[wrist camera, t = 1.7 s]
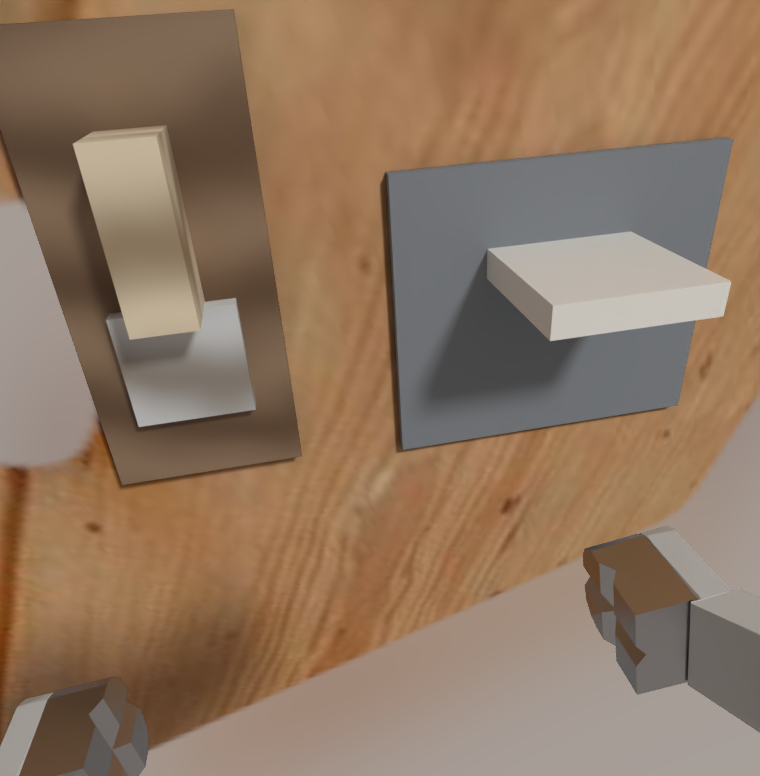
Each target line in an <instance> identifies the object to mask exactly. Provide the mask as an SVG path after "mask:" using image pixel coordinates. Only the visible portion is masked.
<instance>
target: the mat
mask: <svg viewBox="0 0 760 776" xmlns="http://www.w3.org/2000/svg"><path fill="white" fill-rule="evenodd" d="M732 143H733V139H731V138H726V137H724V138H715V139H705V140H695V141H685V142H676V143H666V144H656V145H646V146H636V147H627V148H617V149H607V150H597V151H587V152H578V153H568V154H558V155H548V156H538V157H529V158H519V159H509V160H499V161H489V162H480V163H470V164H460V165H450V166H440V167H431V168H421V169H411V170H401V171H391V172H386V184H387V202H388V220H389V238H390V256H391V275H392V293H393V311H394V329H395V347H396V365H397V384H398V402H399V420H400V438H401V446H402V449H403V450H406V449H412V448H418V447H424V446H431V445H437V444H443V443H449V442H455V441H461V440H468V439H474V438H480V437H486V436H492V435H498V434H504V433H511V432H517V431H523V430H529V429H535V428H541V427H548V426H554V425H560V424H566V423H572V422H578V421H585V420H591V419H597V418H603V417H609V416H615V415H622V414H628V413H634V412H640V411H646V410H652V409H659V408H665V407H671V406H677V405H678V402H679V397H680V392H681V387H682V382H683V378H684V373H685V368H686V363H687V359H688V354H689V349H690V344H691V339H692V335H693V330H694V325H695V320H694V321H687V322H680V323H673V324H666V325H659V326H652V327H645V328H638V329H631V330H625V331H618V332H611V333H604V334H597V335H590V336H583V337H576V338H569V339H562V340H555V341H549V340H548V339H547V338H546V337H545V336H544V335H543V334H542V333H541V332H540V331H539V330H538V329H537V328H536V327H535V326H534V325H533V324H532V323H531V322H530V321H529V320H528V319H527V318H526V317H525V316H524V315H523V314H522V313H521V312H520V311H519V310H518V309H517V308H516V307H515V306H514V305H513V304H512V303H511V302H510V301H509V300H508V299H507V298H506V297H505V296H504V295H503V294H502V293H501V292H500V291H499V290H498V289H497V288H496V287H495V286H494V285H493V284H492V283H491V282H490V281H489V280H488V279H487V249H490V248H498V247H507V246H515V245H523V244H531V243H540V242H548V241H556V240H564V239H573V238H581V237H589V236H597V235H606V234H614V233H622V232H630V231H631V232H633V233H635V234H637V235H639V236H641V237H643V238H645V239H647V240H649V241H651V242H653V243H655V244H657V245H659V246H661V247H663V248H665V249H667V250H669V251H671V252H673V253H675V254H677V255H679V256H681V257H683V258H685V259H687V260H689V261H691V262H693V263H695V264H697V265H699V266H701V267H703V268H705V269H706V268H707V263H708V258H709V253H710V248H711V244H712V239H713V234H714V229H715V224H716V220H717V215H718V210H719V205H720V201H721V196H722V191H723V186H724V181H725V177H726V172H727V167H728V162H729V157H730V153H731V148H732Z"/></svg>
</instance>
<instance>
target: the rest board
mask: <svg viewBox="0 0 760 776" xmlns="http://www.w3.org/2000/svg"><path fill="white" fill-rule="evenodd" d="M164 125H167V130H168V134H169V139H170V143H171V148H172V153H173V157H174V162H175V166H176V171H177V176H178V180H179V185H180V190H181V194H182V199H183V203H184V208H185V213H186V217H187V222H188V226H189V231H190V236H191V240H192V245H193V249H194V254H195V259H196V263H197V268H198V272H199V277H200V282H201V286H202V291H203V295H204V300H205V302H207V301H215V300H223V299H231V298H236V301H237V306H238V311H239V316H240V322H241V327H242V332H243V338H244V343H245V348H246V353H247V359H248V364H249V369H250V374H251V380H252V385H253V390H254V396H255V401H256V410H251V411H244V412H237V413H230V414H224V415H217V416H210V417H204V418H197V419H190V420H183V421H177V422H170V423H163V424H157V425H150V426H143V427H139V426H138V423H137V420H136V417H135V413H134V410H133V407H132V404H131V400H130V397H129V394H128V391H127V387H126V384H125V381H124V378H123V374H122V371H121V368H120V364H119V361H118V358H117V355H116V351H115V348H114V345H113V342H112V338H111V335H110V332H109V329H108V325H107V322H106V319H107V317H108V315H109V314H111V313H119V312H122V311H121V308H120V305H119V301H118V298H117V294H116V291H115V287H114V284H113V281H112V277H111V274H110V270H109V267H108V263H107V260H106V257H105V253H104V250H103V246H102V243H101V239H100V236H99V233H98V229H97V226H96V222H95V219H94V215H93V212H92V208H91V205H90V202H89V198H88V195H87V191H86V188H85V184H84V181H83V178H82V174H81V171H80V167H79V164H78V160H77V157H76V154H75V150H74V147H73V143H75V142H77V141H78V140H80V139H82V138H83V137H85V136H87V135H88V134H90V133H92V132H96V131H107V130H118V129H130V128H141V127H152V126H164ZM0 130H1V133H2V136H3V139H4V142H5V144H6V147H7V150H8V153H9V156H10V159H11V162H12V165H13V168H14V171H15V174H16V177H17V179H18V182H19V185H20V188H21V191H22V194H23V197H24V200H25V203H26V206H27V209H28V212H29V214H30V217H31V220H32V223H33V226H34V229H35V232H36V235H37V238H38V241H39V244H40V246H41V249H42V252H43V255H44V258H45V261H46V264H47V267H48V270H49V273H50V276H51V279H52V281H53V284H54V287H55V290H56V293H57V296H58V299H59V302H60V305H61V308H62V311H63V314H64V316H65V320H66V322H67V325H68V328H69V331H70V334H71V337H72V340H73V343H74V346H75V348H76V352H77V354H78V358H79V361H80V363H81V366H82V369H83V372H84V375H85V378H86V381H87V384H88V387H89V390H90V393H91V396H92V398H93V401H94V404H95V407H96V410H97V413H98V416H99V419H100V422H101V425H102V428H103V431H104V433H105V436H106V439H107V442H108V445H109V448H110V451H111V454H112V457H113V460H114V463H115V466H116V469H117V471H118V474H119V477H120V480H121V483H122V485H126V484H132V483H138V482H144V481H151V480H157V479H163V478H169V477H176V476H182V475H188V474H194V473H201V472H207V471H213V470H219V469H226V468H232V467H238V466H244V465H251V464H257V463H263V462H269V461H276V460H282V459H288V458H294V457H300V456H302V453H301V445H300V439H299V432H298V426H297V419H296V413H295V406H294V400H293V393H292V387H291V380H290V374H289V367H288V361H287V354H286V348H285V341H284V335H283V328H282V322H281V315H280V309H279V302H278V296H277V289H276V283H275V276H274V270H273V263H272V257H271V250H270V244H269V237H268V231H267V224H266V218H265V211H264V205H263V198H262V192H261V185H260V179H259V172H258V166H257V159H256V153H255V146H254V140H253V133H252V127H251V120H250V114H249V107H248V101H247V94H246V88H245V81H244V75H243V68H242V62H241V55H240V49H239V42H238V36H237V29H236V23H235V16H234V10H233V9H231V10H215V11H200V12H185V13H169V14H154V15H139V16H123V17H108V18H93V19H77V20H62V21H46V22H31V23H16V24H0Z"/></svg>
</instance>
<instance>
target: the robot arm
mask: <svg viewBox="0 0 760 776" xmlns="http://www.w3.org/2000/svg"><path fill="white" fill-rule="evenodd" d="M583 566H584V567H585V569H586V571H587V572H588V574H589V575H590V578H589V579H588V581H587V582H586V584H585V591H586V600H587V603H588V607H589V609H590V613H591V616H592V618H593V620H594V623H595V625H596V627H597V628H598V630H599V632H600V634H601V636H602V637H603V639H604V640H606V641H608V642H610V643H612V644H613V645H615V646H616V658H617V659H616V660H617V662H618V664H619V666H620V667H621V669H622V671H623V672H624V674H625V675H626V677H627V679H628V680H629V682H630V684H631V685H632V687H633V688H634V690H635V692H636V693H637V694H642V693H646V692H649V691H654V690H657V689H661V688H665V687H669V686H673V685H677V684H681V683H685V682H688V685H689V686H690V687H692V688H693V689H695V690H696V691H698V692H699V693H701V694H702V695H704V696H706V697H707V698H709V699H710V700H711V701H713V702H714V703H716V704H717V705H719V706H721V707H722V708H724V709H725V710H727V711H728V712H730V713H731V714H733V715H734V716H736V717H737V718H739V719H740V720H742V721H743V722H745V723H746V724H748V725H749V726H751V727H752V728H754V729H755V730H757V731H758V732H760V597H759V596H757V595H754V594H752V593H750V592H747V591H745V590H742V589H736V590H732V591H731V590H730V589H729V588H728V587H727V585H726V584H725V583H724V582H723V581H722V580H721V579H720V578H719V577H718V576H717V575H716V574H715V573H714V572H713V570H712V569H711V568H710V567H709V566H708V565H707V564H706V563H705V562H704V561H703V560H702V559H701V558H700V556H699V555H698V554H697V553H696V552H695V551H694V550H693V549H692V548H691V547H690V546H689V545H688V543H687V542H686V541H685V540H684V539H683V538H682V537H681V536H680V535H679V534H678V533H677V532H676V531H675V529H674V528H672V527H669V526H664V527H660V528H656V529H653V530H649V531H646V532H642V533H640V534H635V535H631V536H628V537H624V538H621V539H617V540H614V541H610V542H606V543H603V544H599V545H596V546H592V547H589V548H585V549H584V553H583ZM127 693H128V689H127V687H126V686H125V684H124V683H123V681H122V680H121V678H120V677H111V678H107V679H103V680H98V681H94V682H90V683H86V684H82V685H78V686H74V687H70V688H66V689H62V690H57V691H55V692H52V693H48V694H44V695H39V696H35V697H31V698H27V699H25V700H24V701H23V702H22V703H21V704H20V705H19V706H18V707H17V708H16V710H15V713H14V715H13V717H12V720H11V722H10V725H9V727H8V729H7V732H6V734H5V736H4V739H3V741H2V743H1V746H0V776H139V774H140V773H141V772H142V770H143V769H144V768H145V766H146V759H147V754H148V729H147V726H146V722H145V719H144V716H143V714H142V713H141V711H140V709H139V707H137V706H135V705H133V704H130V703H128V702H126V697H127Z"/></svg>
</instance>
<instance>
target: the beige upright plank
mask: <svg viewBox="0 0 760 776" xmlns="http://www.w3.org/2000/svg"><path fill="white" fill-rule="evenodd" d="M73 147H74V150H75V154H76V157H77V160H78V164H79V167H80V171H81V174H82V178H83V181H84V184H85V188H86V191H87V195H88V198H89V202H90V205H91V208H92V212H93V215H94V219H95V222H96V226H97V229H98V233H99V236H100V239H101V243H102V246H103V250H104V253H105V257H106V260H107V263H108V267H109V270H110V274H111V277H112V281H113V284H114V287H115V291H116V294H117V298H118V301H119V305H120V308H121V311H122V312H119V313H111V314H109V315H108V317H107V319H106V322H107V325H108V329H109V332H110V335H111V338H112V342H113V345H114V348H115V351H116V355H117V358H118V361H119V364H120V368H121V371H122V374H123V378H124V381H125V384H126V387H127V391H128V394H129V397H130V400H131V404H132V407H133V410H134V413H135V417H136V420H137V423H138V426H139V427H143V426H150V425H157V424H163V423H170V422H177V421H183V420H190V419H197V418H204V417H210V416H217V415H224V414H230V413H237V412H244V411H251V410H256V401H255V396H254V390H253V385H252V380H251V374H250V369H249V364H248V359H247V353H246V348H245V343H244V338H243V332H242V327H241V322H240V316H239V311H238V306H237V301H236V298H231V299H223V300H215V301H207V302H205V300H204V295H203V291H202V286H201V282H200V277H199V272H198V268H197V263H196V259H195V254H194V249H193V245H192V240H191V236H190V231H189V226H188V222H187V217H186V213H185V208H184V203H183V199H182V194H181V190H180V185H179V180H178V176H177V171H176V166H175V162H174V157H173V153H172V148H171V143H170V139H169V134H168V130H167V125H164V126H152V127H141V128H130V129H118V130H107V131H96V132H92V133H90V134H88V135H87V136H85V137H83V138H82V139H80V140H78V141H77V142H75V143H73Z"/></svg>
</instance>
